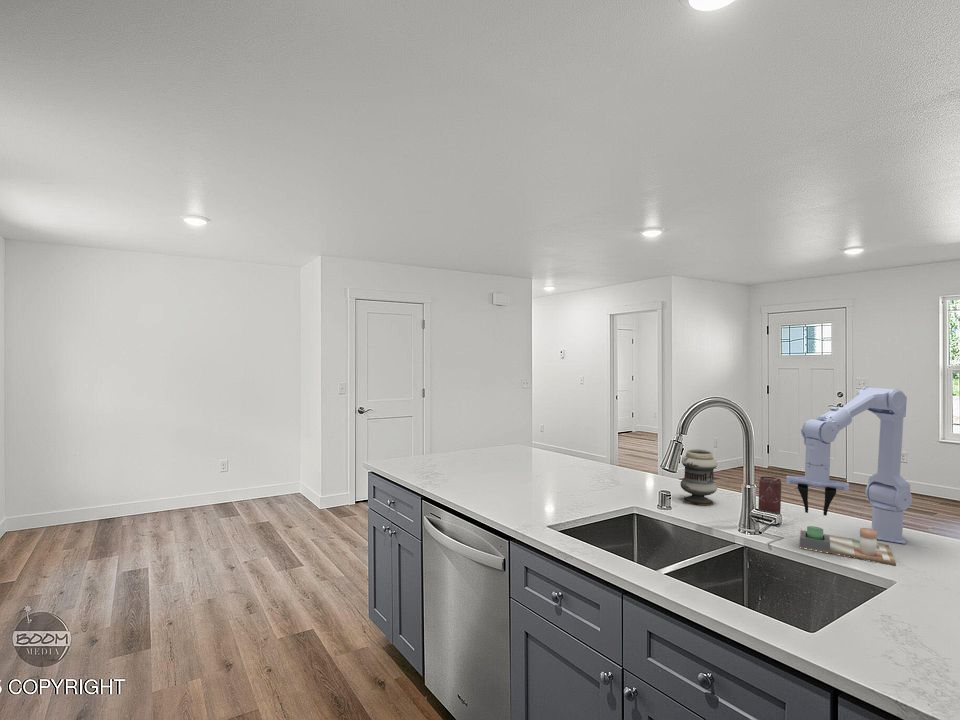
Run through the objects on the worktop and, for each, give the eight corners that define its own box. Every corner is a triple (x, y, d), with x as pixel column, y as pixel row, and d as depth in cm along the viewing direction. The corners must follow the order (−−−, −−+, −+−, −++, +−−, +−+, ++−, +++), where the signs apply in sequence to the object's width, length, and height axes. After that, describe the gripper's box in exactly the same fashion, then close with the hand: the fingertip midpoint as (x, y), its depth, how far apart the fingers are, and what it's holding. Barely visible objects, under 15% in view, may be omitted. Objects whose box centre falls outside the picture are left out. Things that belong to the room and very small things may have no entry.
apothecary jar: (678, 503, 190) (679, 452, 189) (681, 495, 201) (683, 446, 200) (716, 508, 185) (717, 455, 184) (717, 499, 195) (718, 450, 195)
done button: (806, 536, 152) (807, 525, 152) (822, 538, 150) (823, 527, 150) (806, 539, 149) (807, 529, 149) (823, 542, 147) (823, 531, 147)
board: (800, 532, 162) (800, 529, 162) (888, 546, 151) (888, 543, 151) (799, 548, 148) (799, 545, 148) (895, 565, 137) (896, 562, 137)
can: (785, 525, 168) (786, 480, 168) (766, 526, 167) (768, 480, 167) (771, 519, 174) (773, 475, 174) (753, 519, 173) (755, 476, 173)
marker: (858, 549, 146) (859, 527, 146) (875, 551, 144) (875, 529, 144) (860, 554, 143) (860, 531, 143) (877, 556, 141) (878, 533, 141)
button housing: (800, 539, 154) (800, 530, 154) (828, 543, 150) (829, 535, 150) (800, 546, 148) (800, 537, 148) (829, 551, 145) (830, 542, 145)
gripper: (786, 463, 149) (784, 512, 149) (850, 470, 142) (848, 521, 142) (787, 458, 155) (785, 506, 155) (848, 465, 148) (846, 515, 148)
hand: (815, 513), depth 149 cm, fingers open, 4 cm apart
